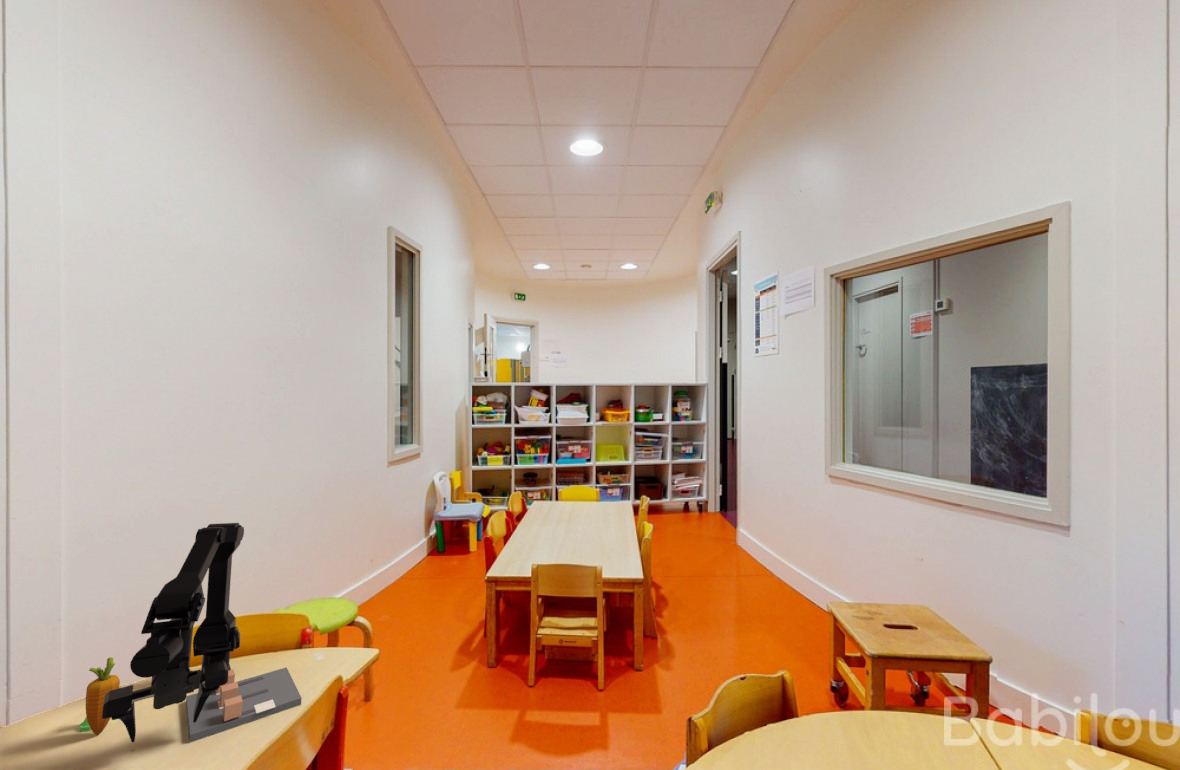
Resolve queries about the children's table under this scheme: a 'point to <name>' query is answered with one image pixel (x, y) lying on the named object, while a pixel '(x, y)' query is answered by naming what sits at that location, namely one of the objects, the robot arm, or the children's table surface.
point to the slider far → (229, 678)
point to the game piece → (84, 725)
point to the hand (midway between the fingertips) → (164, 731)
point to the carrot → (99, 696)
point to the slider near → (232, 708)
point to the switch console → (244, 703)
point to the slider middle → (228, 692)
